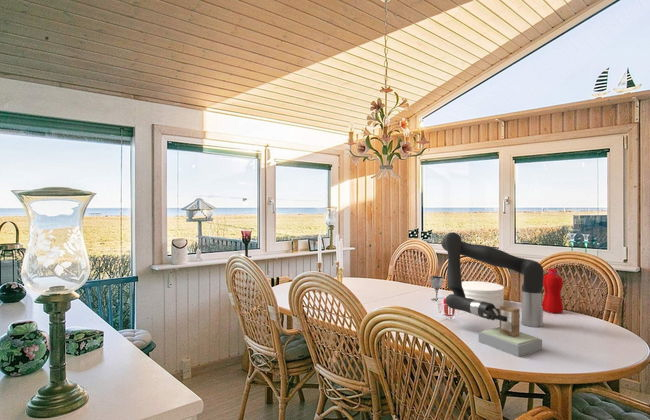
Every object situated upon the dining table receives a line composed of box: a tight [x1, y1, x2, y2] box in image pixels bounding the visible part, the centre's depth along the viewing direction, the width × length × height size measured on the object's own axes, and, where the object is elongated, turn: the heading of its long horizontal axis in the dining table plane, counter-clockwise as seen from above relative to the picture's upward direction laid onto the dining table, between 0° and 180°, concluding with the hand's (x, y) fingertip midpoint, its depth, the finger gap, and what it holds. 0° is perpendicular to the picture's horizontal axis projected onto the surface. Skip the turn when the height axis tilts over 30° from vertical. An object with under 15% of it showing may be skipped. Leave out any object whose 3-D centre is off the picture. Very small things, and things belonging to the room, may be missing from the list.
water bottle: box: [542, 267, 564, 314], centre depth 226 cm, size 9×11×25 cm
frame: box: [499, 304, 521, 337], centre depth 173 cm, size 7×4×12 cm, turn 28°
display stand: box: [478, 326, 543, 357], centre depth 173 cm, size 20×16×5 cm
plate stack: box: [462, 280, 505, 308], centre depth 246 cm, size 28×28×12 cm
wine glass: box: [429, 275, 444, 302], centre depth 255 cm, size 8×8×15 cm
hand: (513, 318), depth 172 cm, fingers open, 8 cm apart
